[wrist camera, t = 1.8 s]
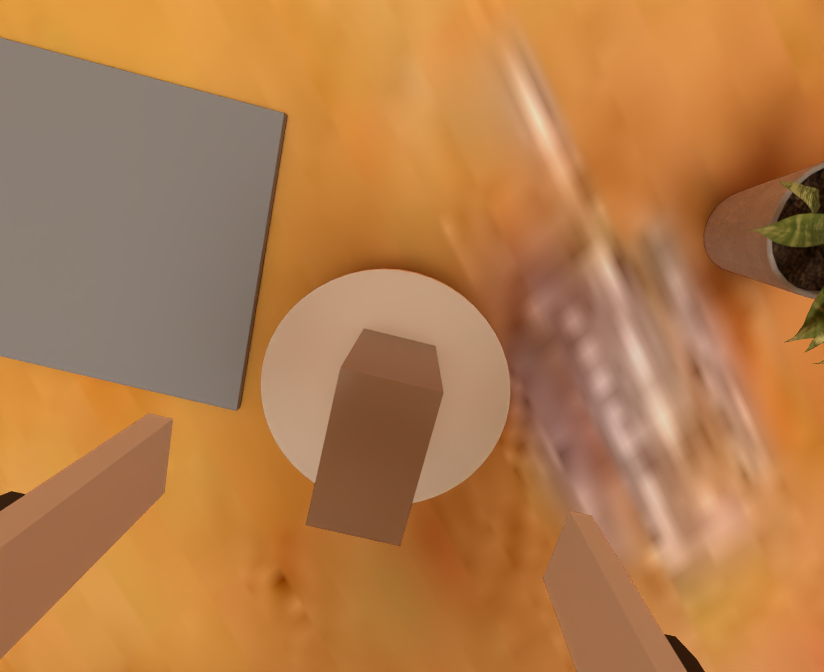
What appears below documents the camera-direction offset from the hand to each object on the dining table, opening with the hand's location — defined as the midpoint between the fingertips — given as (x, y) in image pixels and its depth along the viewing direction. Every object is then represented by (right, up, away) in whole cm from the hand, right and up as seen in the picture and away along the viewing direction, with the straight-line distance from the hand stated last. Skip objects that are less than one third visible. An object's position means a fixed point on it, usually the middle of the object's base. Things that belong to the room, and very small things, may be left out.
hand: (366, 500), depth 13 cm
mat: (-18, +12, +14) cm, 26 cm away
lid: (0, +2, +11) cm, 11 cm away
